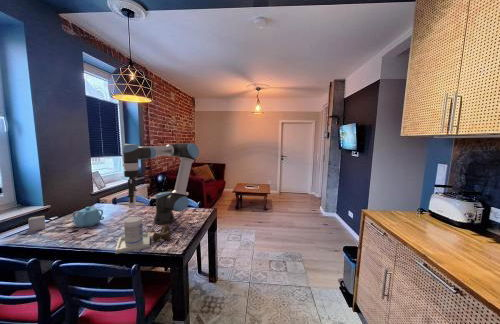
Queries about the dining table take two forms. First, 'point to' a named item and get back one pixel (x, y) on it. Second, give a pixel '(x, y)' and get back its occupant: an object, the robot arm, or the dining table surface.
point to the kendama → (164, 234)
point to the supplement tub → (133, 231)
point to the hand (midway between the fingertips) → (132, 204)
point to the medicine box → (36, 223)
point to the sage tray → (123, 247)
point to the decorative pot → (87, 217)
